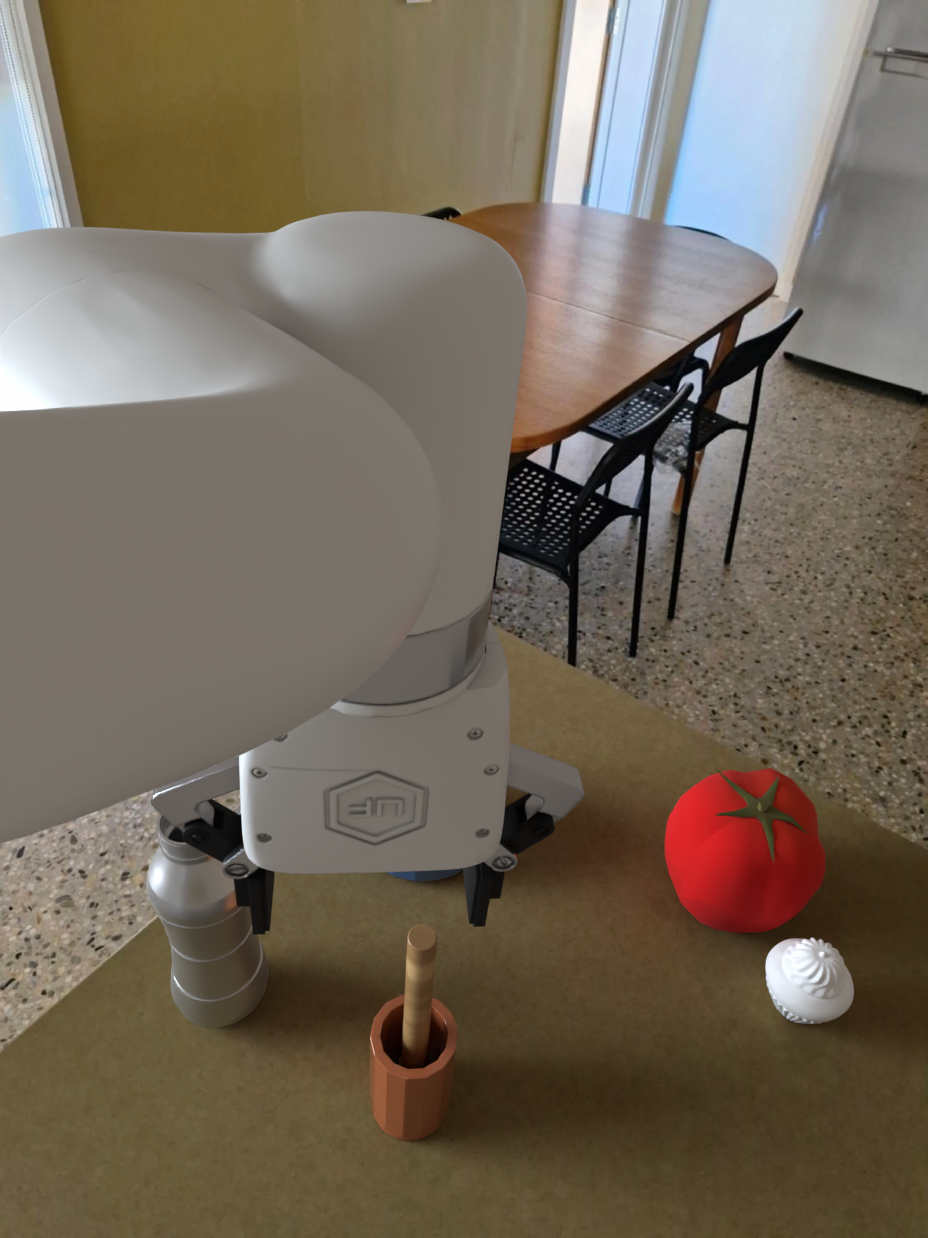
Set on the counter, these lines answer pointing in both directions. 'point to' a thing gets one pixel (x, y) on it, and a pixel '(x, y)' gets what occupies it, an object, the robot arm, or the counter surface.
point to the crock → (411, 1073)
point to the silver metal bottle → (205, 934)
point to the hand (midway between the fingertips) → (370, 903)
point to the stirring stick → (418, 995)
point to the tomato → (744, 850)
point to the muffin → (808, 981)
